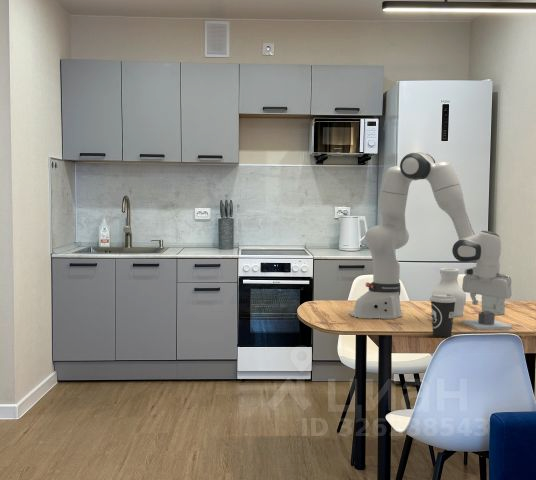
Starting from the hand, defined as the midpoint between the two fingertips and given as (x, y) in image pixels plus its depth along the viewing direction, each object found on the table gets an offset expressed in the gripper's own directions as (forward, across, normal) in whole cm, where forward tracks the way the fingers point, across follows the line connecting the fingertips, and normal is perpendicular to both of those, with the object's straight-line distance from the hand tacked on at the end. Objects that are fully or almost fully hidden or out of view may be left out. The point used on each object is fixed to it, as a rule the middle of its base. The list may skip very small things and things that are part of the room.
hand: (485, 306), depth 257 cm
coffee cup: (+8, -1, +29) cm, 30 cm away
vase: (+8, +23, -8) cm, 26 cm away
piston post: (+8, -1, 0) cm, 8 cm away
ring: (+7, -1, 0) cm, 7 cm away
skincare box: (+8, +13, -27) cm, 31 cm away
